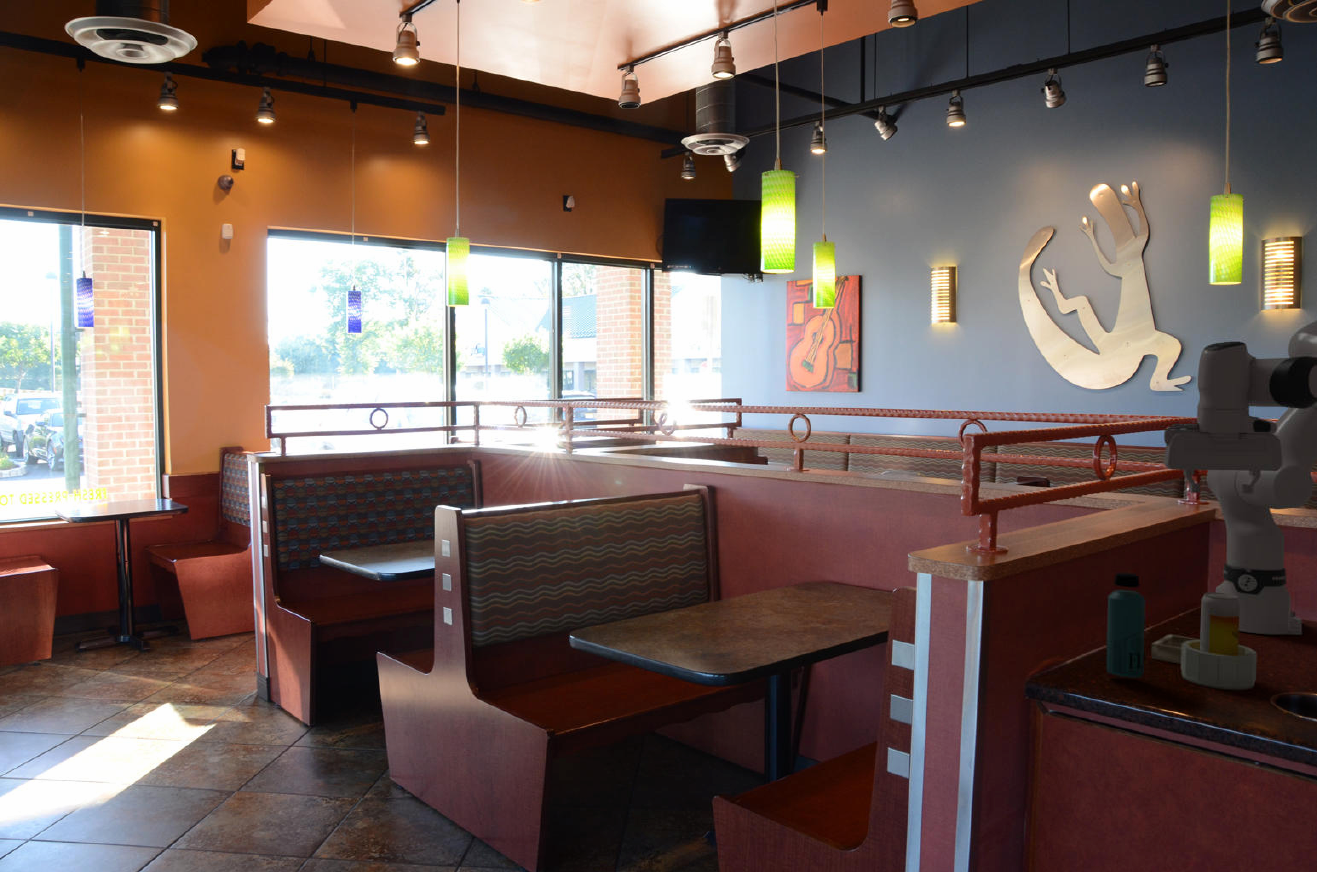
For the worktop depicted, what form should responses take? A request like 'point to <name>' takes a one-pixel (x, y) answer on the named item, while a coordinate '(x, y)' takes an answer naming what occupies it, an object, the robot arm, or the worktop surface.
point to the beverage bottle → (1126, 629)
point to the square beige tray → (1169, 648)
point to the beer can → (1219, 624)
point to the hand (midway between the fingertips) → (1221, 492)
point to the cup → (1218, 667)
